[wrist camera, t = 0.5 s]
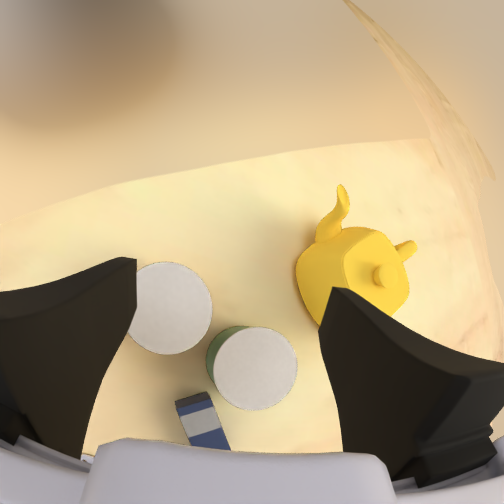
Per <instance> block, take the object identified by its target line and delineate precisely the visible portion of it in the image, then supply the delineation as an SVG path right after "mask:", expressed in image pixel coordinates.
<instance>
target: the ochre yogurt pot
mask: <svg viewBox="0 0 504 504" xmlns="http://www.w3.org/2000/svg"><path fill="white" fill-rule="evenodd" d="M211 318H212V300H211V296H210V293H209V291H208V289H207V287H206V285H205V283H204V282H203V280H202V279H201V278H200V277H199V276H198V275H197V274H196V273H195V272H194V271H192V270H191V269H189V268H187V267H185V266H183V265H181V264H178V263H173V262H158V263H153V264H150V265H148V266H145V267H143V268H142V269H140V270H139V271H138V272H137V309H136V312H135V315H134V318H133V320H132V323H131V325H130V328H129V330H128V333H129V335H130V336H131V337H132V338H133V340H134V341H135V342H136V343H138V344H139V345H140V346H142V347H143V348H145V349H147V350H149V351H151V352H154V353H158V354H165V355H171V354H177V353H181V352H184V351H186V350H188V349H190V348H192V347H193V346H195V345H196V344H197V343H198V342H199V341H200V340H201V339H202V338H203V337H204V335H205V334H206V332H207V330H208V328H209V326H210V322H211Z"/></svg>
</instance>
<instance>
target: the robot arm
mask: <svg viewBox="0 0 504 504" xmlns="http://www.w3.org/2000/svg"><path fill="white" fill-rule="evenodd" d="M136 309H137V259H133V258H126V257H118V258H115V259H112V260H109V261H106V262H104V263H101V264H99V265H96V266H94V267H91V268H89V269H86V270H84V271H81V272H79V273H76V274H73V275H71V276H68V277H65V278H62V279H59V280H56V281H53V282H50V283H46V284H42V285H38V286H34V287H29V288H23V289H18V290H12V291H3V292H0V504H504V436H502V437H500V438H498V439H497V440H495V441H494V442H493V443H492V442H491V440H490V438H489V436H490V435H491V434H492V433H493V429H492V427H491V426H490V423H491V422H492V420H493V419H494V418H495V417H496V415H497V414H498V413H499V411H500V410H501V409H502V408H503V406H504V363H501V362H496V361H491V360H486V359H482V358H477V357H474V356H471V355H467V354H464V353H461V352H458V351H455V350H453V349H450V348H448V347H445V346H443V345H440V344H438V343H436V342H434V341H431V340H429V339H427V338H425V337H423V336H422V335H420V334H418V333H416V332H414V331H412V330H411V329H409V328H407V327H405V326H404V325H402V324H401V323H399V322H398V321H396V320H394V319H393V318H391V317H390V316H389V315H387V314H386V313H384V312H383V311H381V310H380V309H378V308H377V307H376V306H374V305H373V304H371V303H370V302H369V301H367V300H366V299H364V298H363V297H362V296H360V295H359V294H357V293H355V292H354V291H352V290H350V289H348V288H342V287H333V286H332V289H331V292H330V296H329V299H328V302H327V305H326V309H325V312H324V315H323V318H322V321H321V324H320V327H319V330H318V333H319V341H320V348H321V353H322V357H323V360H324V364H325V367H326V370H327V373H328V377H329V380H330V383H331V386H332V390H333V393H334V396H335V400H336V404H337V408H338V414H339V420H340V427H341V435H342V444H343V452H329V453H258V452H242V451H230V450H220V449H211V448H204V447H196V446H190V445H183V444H177V443H172V442H166V441H159V440H146V439H135V438H123V439H119V440H116V441H113V442H110V443H106V444H103V445H100V446H98V449H97V452H96V454H95V457H93V456H90V455H87V454H82V449H83V444H84V439H85V435H86V431H87V427H88V423H89V419H90V416H91V412H92V409H93V406H94V403H95V399H96V396H97V394H98V391H99V388H100V385H101V382H102V380H103V377H104V375H105V373H106V371H107V369H108V367H109V365H110V363H111V361H112V359H113V357H114V356H115V354H116V352H117V350H118V348H119V346H120V345H121V343H122V341H123V339H124V337H125V335H126V334H127V332H128V330H129V328H130V325H131V323H132V320H133V318H134V315H135V312H136ZM81 454H82V455H81ZM83 460H86V462H85V461H83Z"/></svg>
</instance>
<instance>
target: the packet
mask: <svg viewBox="0 0 504 504" xmlns="http://www.w3.org/2000/svg"><path fill="white" fill-rule="evenodd" d="M175 405H176V410H177V412H178V415H179V418H180V420H181V423H182V425H183V427H184V430H185V432H186V434H187V437H188V439H189V441H190V443H191V445H192V446H196V447H204V448H211V449H220V450H230V451H231V449H230V446H229V444H228V441H227V439H226V436H225V434H224V431H223V429H222V426H221V423H220V421H219V418H218V416H217V413H216V410H215V408H214V405H213V403H212V400H211V398H210V396H209V395H208V393H207V392H204V393H201V394H197V395H194V396H191V397H187V398H184V399H181V400H177V401H175Z"/></svg>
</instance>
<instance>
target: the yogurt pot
mask: <svg viewBox="0 0 504 504" xmlns="http://www.w3.org/2000/svg"><path fill="white" fill-rule="evenodd" d="M206 366H207V371H208V373H209V376H210V378H211V379H212V381H213V382H214V383H215V384H216V387H217V389H218V391H219V392H220V394H221V395H222V396H223V398H224V399H225V400H226V401H228V402H229V403H230V404H232V405H233V406H235V407H238V408H241V409H244V410H253V411H254V410H262V409H266V408H269V407H271V406H273V405H275V404H277V403H278V402H280V401H281V400H282V399H283V398H284V397H285V396H286V395H287V394H288V392H289V391H290V390H291V388H292V386H293V384H294V382H295V379H296V375H297V358H296V354H295V351H294V349H293V347H292V345H291V344H290V342H289V341H288V340H287V339H286V338H285V337H284V336H283V335H282V334H280V333H278V332H277V331H274V330H272V329H269V328H264V327H247V326H236V327H231V328H229V329H226V330H224V331H223V332H221V333H220V334H219V335H217V336H216V337H215V339H214V340H213V341H212V343H211V344H210V346H209V348H208V351H207V356H206Z"/></svg>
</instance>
